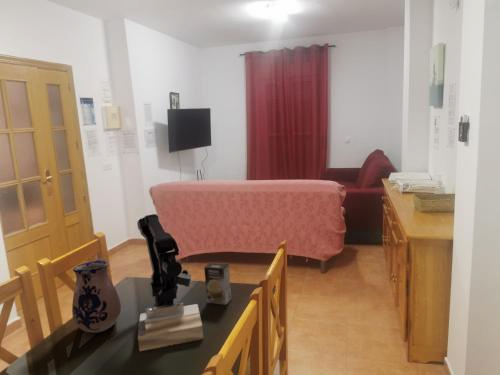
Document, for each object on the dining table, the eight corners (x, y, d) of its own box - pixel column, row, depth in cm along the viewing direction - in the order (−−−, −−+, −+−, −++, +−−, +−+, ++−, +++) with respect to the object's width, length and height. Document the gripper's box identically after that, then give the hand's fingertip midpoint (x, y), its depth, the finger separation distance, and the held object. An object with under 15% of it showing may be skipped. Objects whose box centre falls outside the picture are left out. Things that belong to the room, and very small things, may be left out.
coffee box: (206, 303, 164) (203, 267, 161) (212, 296, 170) (209, 262, 167) (226, 305, 161) (223, 268, 158) (232, 298, 167) (228, 263, 164)
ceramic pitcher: (69, 342, 141) (58, 277, 137) (84, 315, 161) (76, 258, 157) (118, 335, 143) (110, 271, 139) (127, 309, 164) (120, 253, 160)
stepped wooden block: (140, 337, 141) (138, 315, 139) (200, 325, 145) (198, 304, 144) (139, 351, 131) (136, 328, 130) (203, 338, 136) (201, 316, 135)
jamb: (141, 325, 149) (140, 313, 148) (198, 315, 154) (197, 303, 153) (140, 336, 141) (139, 323, 140) (200, 325, 146) (199, 312, 145)
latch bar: (146, 319, 142) (145, 311, 142) (146, 315, 145) (145, 308, 145) (184, 312, 145) (183, 305, 145) (183, 309, 148) (183, 301, 148)
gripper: (188, 275, 138) (192, 315, 141) (189, 258, 157) (192, 294, 159) (156, 279, 137) (161, 319, 140) (161, 261, 155) (165, 298, 158)
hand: (171, 307), depth 149 cm, fingers closed
